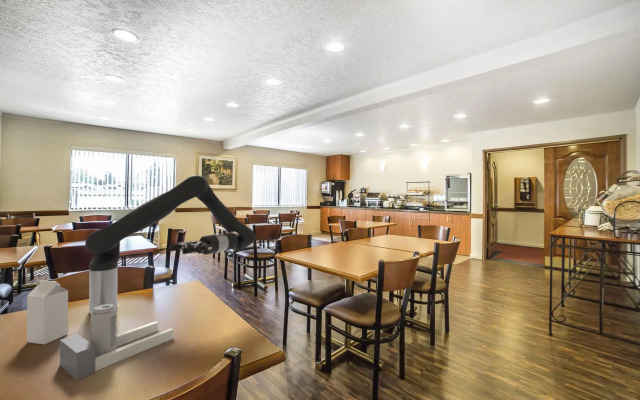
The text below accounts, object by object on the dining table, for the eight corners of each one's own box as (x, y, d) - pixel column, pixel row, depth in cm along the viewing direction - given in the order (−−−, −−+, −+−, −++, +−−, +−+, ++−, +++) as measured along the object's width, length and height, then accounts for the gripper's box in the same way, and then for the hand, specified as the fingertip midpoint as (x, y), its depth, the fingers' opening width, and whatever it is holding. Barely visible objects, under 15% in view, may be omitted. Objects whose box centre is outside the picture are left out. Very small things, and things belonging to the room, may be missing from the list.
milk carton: (44, 345, 91) (44, 285, 90) (26, 342, 92) (26, 283, 92) (68, 334, 98) (68, 278, 97) (51, 332, 99) (51, 277, 99)
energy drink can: (94, 354, 86) (94, 304, 86) (118, 350, 88) (118, 301, 88) (87, 365, 80) (87, 312, 80) (113, 360, 83) (113, 308, 82)
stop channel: (60, 364, 80) (60, 339, 80) (155, 329, 102) (155, 309, 102) (76, 380, 74) (76, 352, 74) (174, 338, 96) (174, 317, 96)
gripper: (203, 233, 122) (165, 237, 108) (225, 236, 114) (187, 241, 100) (203, 251, 122) (165, 257, 108) (225, 255, 114) (187, 262, 100)
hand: (176, 249), depth 104 cm, fingers open, 8 cm apart
